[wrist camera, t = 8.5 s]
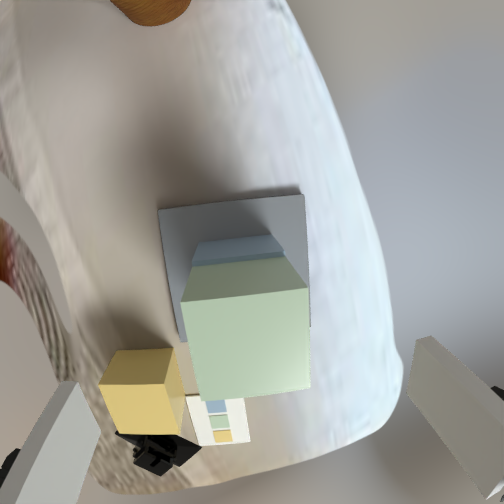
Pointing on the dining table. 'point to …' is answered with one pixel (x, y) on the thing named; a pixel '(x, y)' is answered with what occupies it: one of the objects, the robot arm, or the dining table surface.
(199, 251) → the blue base brick
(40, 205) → the dining table surface
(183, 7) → the disposable coffee cup
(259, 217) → the slate board
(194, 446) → the black mounting plate
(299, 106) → the dining table surface
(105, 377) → the ochre brick
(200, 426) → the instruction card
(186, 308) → the sage brick
